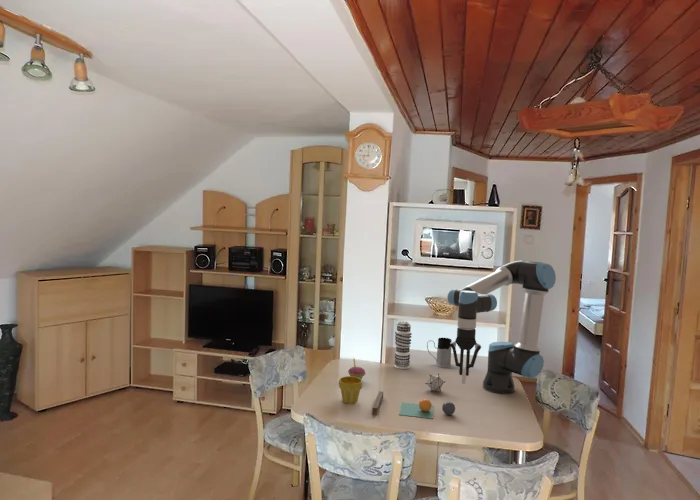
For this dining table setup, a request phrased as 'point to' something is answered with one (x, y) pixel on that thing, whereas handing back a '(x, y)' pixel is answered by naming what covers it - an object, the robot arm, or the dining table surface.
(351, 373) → the cupcake
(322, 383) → the dining table surface
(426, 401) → the orange ball
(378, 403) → the walnut stopper
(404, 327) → the decorative candle
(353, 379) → the plant pot
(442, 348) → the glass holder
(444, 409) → the dark grey ball
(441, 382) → the grey spiky polyhedron
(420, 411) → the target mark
